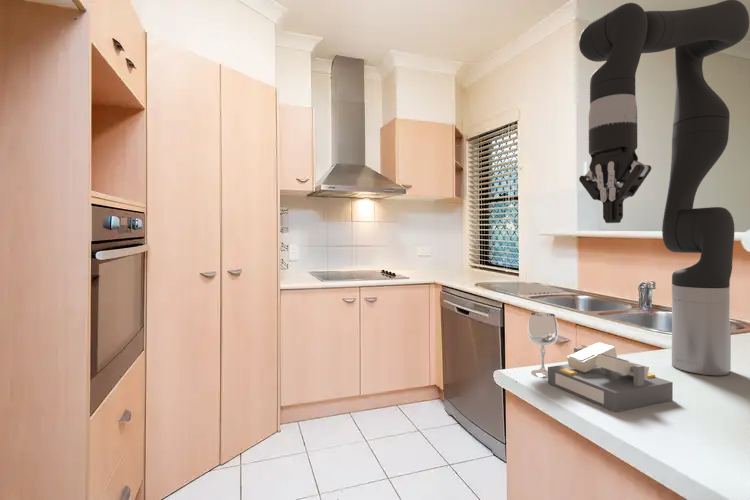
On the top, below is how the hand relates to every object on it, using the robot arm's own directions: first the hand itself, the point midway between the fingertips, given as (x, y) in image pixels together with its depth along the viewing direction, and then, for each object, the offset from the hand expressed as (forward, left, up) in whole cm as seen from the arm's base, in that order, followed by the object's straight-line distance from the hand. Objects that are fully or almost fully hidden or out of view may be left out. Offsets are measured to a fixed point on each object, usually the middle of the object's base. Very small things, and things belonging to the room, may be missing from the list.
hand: (612, 222), depth 71 cm
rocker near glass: (+2, -2, -25) cm, 25 cm away
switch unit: (+2, +1, -30) cm, 30 cm away
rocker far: (+2, +4, -25) cm, 25 cm away
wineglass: (+6, -11, -30) cm, 33 cm away
